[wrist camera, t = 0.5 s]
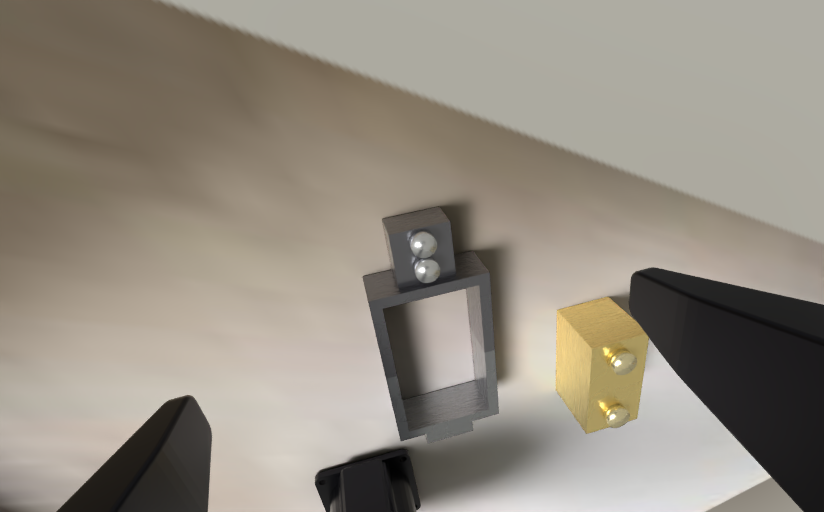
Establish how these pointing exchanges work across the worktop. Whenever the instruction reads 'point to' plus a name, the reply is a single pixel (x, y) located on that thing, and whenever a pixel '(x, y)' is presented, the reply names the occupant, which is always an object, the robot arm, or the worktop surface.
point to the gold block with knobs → (600, 363)
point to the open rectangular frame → (422, 278)
